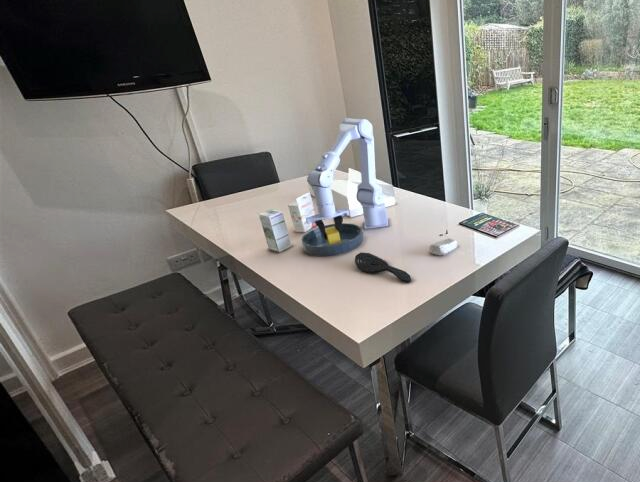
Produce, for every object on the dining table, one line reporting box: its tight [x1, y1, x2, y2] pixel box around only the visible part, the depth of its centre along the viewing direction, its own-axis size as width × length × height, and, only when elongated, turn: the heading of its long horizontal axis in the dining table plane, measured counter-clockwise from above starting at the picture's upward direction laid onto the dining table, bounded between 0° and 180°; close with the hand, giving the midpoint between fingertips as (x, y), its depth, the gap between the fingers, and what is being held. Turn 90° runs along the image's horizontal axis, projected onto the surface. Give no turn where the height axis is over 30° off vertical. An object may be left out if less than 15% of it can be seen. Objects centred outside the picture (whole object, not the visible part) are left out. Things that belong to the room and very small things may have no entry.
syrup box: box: [258, 209, 292, 253], centre depth 149 cm, size 6×6×14 cm
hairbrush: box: [354, 251, 412, 283], centre depth 135 cm, size 8×4×25 cm
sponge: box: [325, 226, 341, 245], centre depth 152 cm, size 4×7×4 cm, turn 36°
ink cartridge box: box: [287, 191, 317, 233], centre depth 166 cm, size 9×5×15 cm, turn 168°
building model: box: [306, 167, 396, 218], centre depth 199 cm, size 45×22×10 cm, turn 46°
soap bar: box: [429, 237, 458, 256], centre depth 148 cm, size 10×6×6 cm, turn 133°
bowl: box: [301, 222, 364, 257], centre depth 154 cm, size 21×21×4 cm
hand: (332, 236), depth 152 cm, fingers closed on sponge, 4 cm apart
